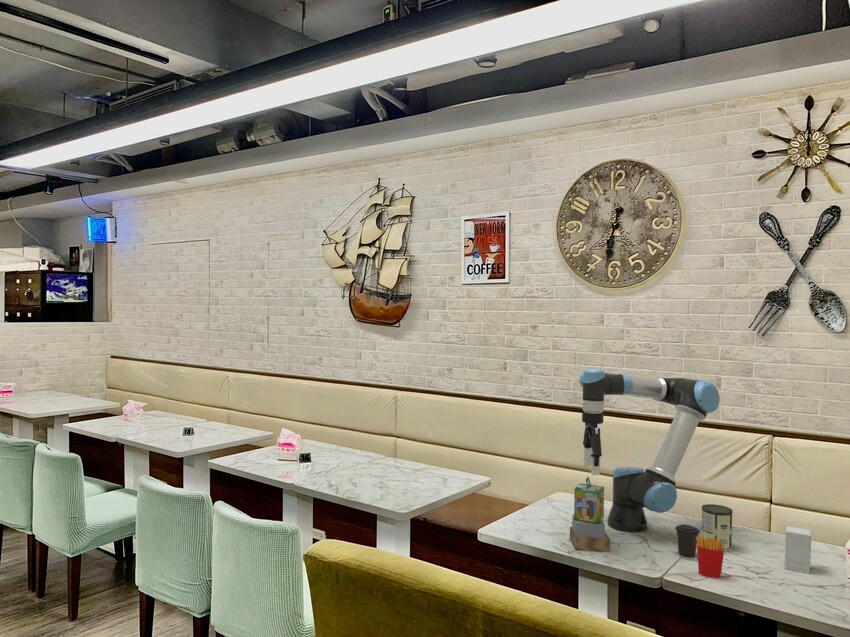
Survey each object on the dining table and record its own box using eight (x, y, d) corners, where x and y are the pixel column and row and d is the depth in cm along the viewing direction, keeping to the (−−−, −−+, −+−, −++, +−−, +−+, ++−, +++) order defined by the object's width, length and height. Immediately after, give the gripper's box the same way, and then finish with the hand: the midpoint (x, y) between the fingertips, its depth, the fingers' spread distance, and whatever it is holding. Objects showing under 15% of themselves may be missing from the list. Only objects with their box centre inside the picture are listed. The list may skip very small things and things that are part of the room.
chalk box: (599, 524, 220) (600, 482, 220) (573, 520, 224) (574, 479, 224) (604, 517, 228) (605, 477, 228) (579, 513, 232) (580, 473, 232)
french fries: (723, 575, 202) (725, 538, 202) (722, 580, 198) (723, 542, 198) (695, 569, 206) (696, 533, 206) (693, 573, 203) (694, 536, 203)
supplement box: (810, 574, 205) (811, 535, 205) (784, 568, 209) (785, 531, 209) (810, 566, 211) (811, 529, 211) (785, 561, 215) (786, 525, 215)
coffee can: (711, 539, 235) (713, 502, 235) (737, 549, 227) (738, 510, 227) (694, 544, 230) (695, 506, 230) (720, 553, 221) (721, 514, 221)
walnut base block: (602, 541, 232) (602, 528, 232) (609, 553, 220) (610, 539, 220) (569, 539, 232) (569, 526, 232) (575, 551, 220) (575, 537, 220)
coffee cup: (680, 548, 225) (681, 521, 225) (703, 555, 219) (703, 527, 219) (670, 554, 219) (671, 525, 219) (693, 561, 213) (694, 532, 213)
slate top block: (599, 529, 230) (600, 515, 230) (604, 538, 220) (604, 524, 220) (572, 527, 231) (572, 514, 231) (575, 536, 221) (575, 522, 221)
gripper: (576, 406, 239) (574, 461, 239) (589, 416, 214) (588, 478, 214) (595, 407, 238) (594, 462, 238) (611, 417, 213) (610, 479, 213)
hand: (591, 470), depth 226 cm, fingers open, 13 cm apart
